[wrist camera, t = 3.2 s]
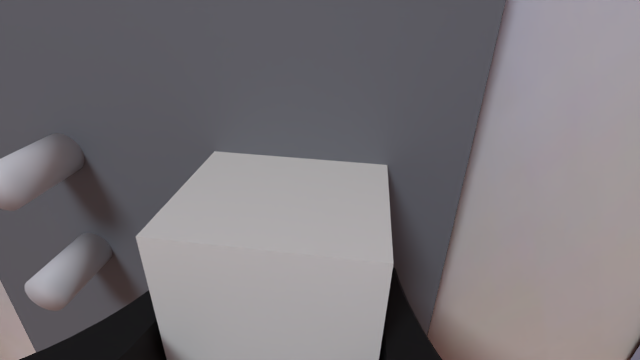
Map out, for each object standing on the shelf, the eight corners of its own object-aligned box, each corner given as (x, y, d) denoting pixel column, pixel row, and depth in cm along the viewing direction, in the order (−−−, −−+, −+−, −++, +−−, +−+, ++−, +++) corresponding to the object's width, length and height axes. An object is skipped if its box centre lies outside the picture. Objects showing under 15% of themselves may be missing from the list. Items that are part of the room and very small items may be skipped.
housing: (214, 151, 12) (135, 236, 8) (387, 164, 11) (393, 263, 7) (236, 343, 16) (192, 461, 12) (363, 360, 16) (359, 488, 12)
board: (503, -44, 9) (565, -54, 6) (406, 396, 18) (412, 482, 15) (-127, -58, 11) (-314, -72, 8) (57, 347, 20) (-2, 415, 17)
